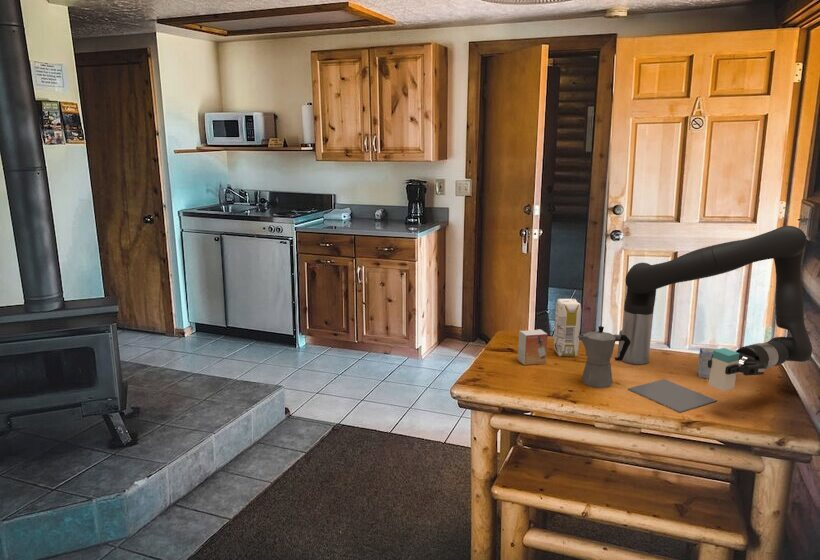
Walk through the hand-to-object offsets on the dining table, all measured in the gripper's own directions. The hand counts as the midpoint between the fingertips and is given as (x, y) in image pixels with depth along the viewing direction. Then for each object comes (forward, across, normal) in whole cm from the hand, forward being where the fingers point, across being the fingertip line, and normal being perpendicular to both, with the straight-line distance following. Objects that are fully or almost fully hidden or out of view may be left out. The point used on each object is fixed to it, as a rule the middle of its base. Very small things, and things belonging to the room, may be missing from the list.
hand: (718, 367), depth 161 cm
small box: (+17, -54, +15) cm, 59 cm away
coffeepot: (+10, -30, +14) cm, 35 cm away
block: (-3, 0, +6) cm, 7 cm away
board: (-1, -14, +14) cm, 19 cm away
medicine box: (-25, -18, +14) cm, 34 cm away
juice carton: (+1, -56, +15) cm, 57 cm away
